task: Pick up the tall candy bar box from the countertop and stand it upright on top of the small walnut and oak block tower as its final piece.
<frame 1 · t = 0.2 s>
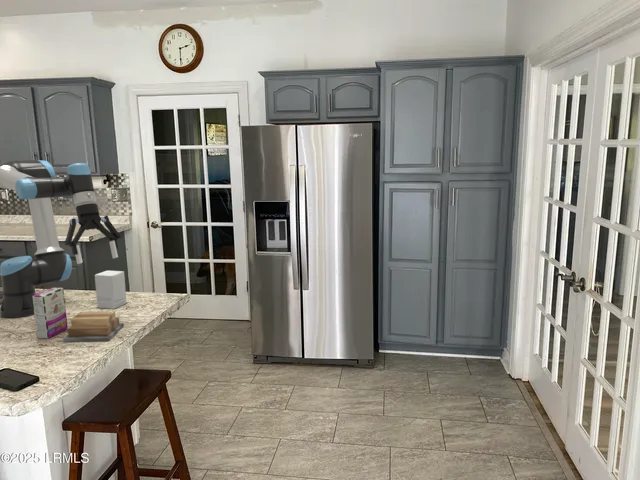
hand: (98, 260, 184), 27 cm above the countertop, tool tilted 20°, fingers open, 13 cm apart
supplement box: (112, 305, 220), on the countertop
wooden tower: (94, 333, 186), on the countertop
candy bar box: (52, 334, 186), on the countertop
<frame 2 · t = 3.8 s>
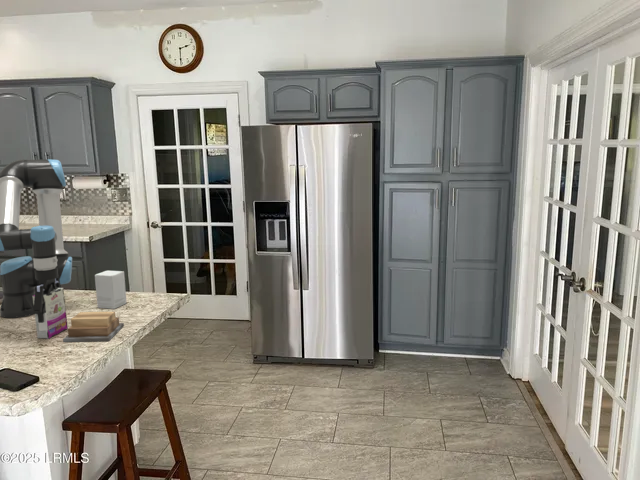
hand: (51, 324, 185), 3 cm above the countertop, tool pointing down, fingers closed on candy bar box, 12 cm apart
candy bar box: (52, 334, 186), on the countertop, touching gripper
everything else where it was.
when the fingers open (12 cm above the countertop, at t = 10.1 s): candy bar box drops 1 cm, resting on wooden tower.
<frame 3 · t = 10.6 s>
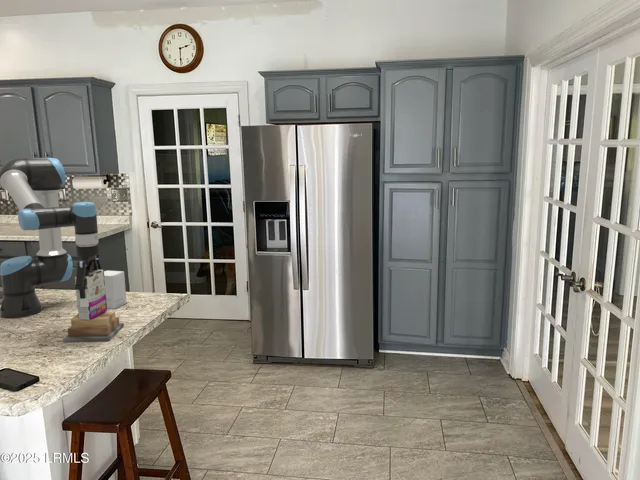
hand: (92, 301, 184), 13 cm above the countertop, tool pointing down, fingers open, 13 cm apart
candy bar box: (93, 316, 184), point 7 cm above the countertop, touching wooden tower
everything else where it was.
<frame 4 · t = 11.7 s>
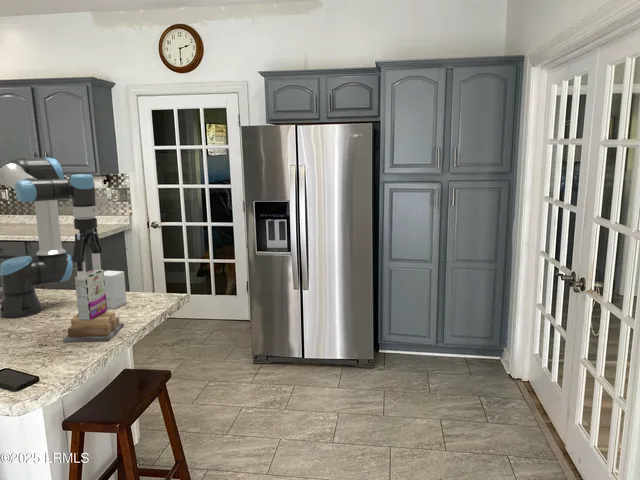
hand: (89, 274, 182), 23 cm above the countertop, tool pointing down, fingers open, 13 cm apart
nothing on the countertop moved.
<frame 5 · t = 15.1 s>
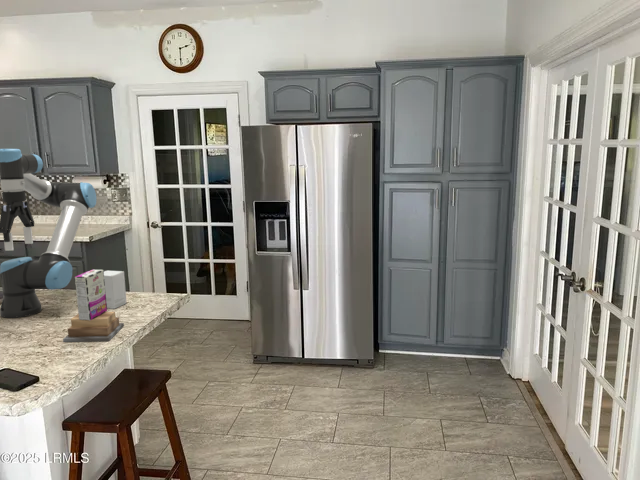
hand: (19, 246, 188), 32 cm above the countertop, tool pointing down, fingers open, 13 cm apart
nothing on the countertop moved.
at the end: candy bar box inside the target area on the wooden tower (0.4 cm from its centre), point 7.0 cm above the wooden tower's base; candy bar box tilted 0°; the gripper is holding nothing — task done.
